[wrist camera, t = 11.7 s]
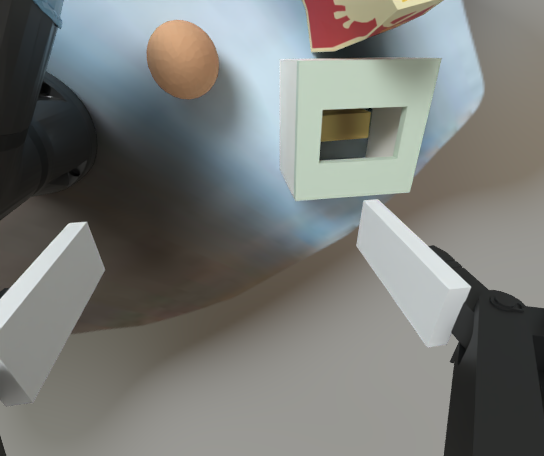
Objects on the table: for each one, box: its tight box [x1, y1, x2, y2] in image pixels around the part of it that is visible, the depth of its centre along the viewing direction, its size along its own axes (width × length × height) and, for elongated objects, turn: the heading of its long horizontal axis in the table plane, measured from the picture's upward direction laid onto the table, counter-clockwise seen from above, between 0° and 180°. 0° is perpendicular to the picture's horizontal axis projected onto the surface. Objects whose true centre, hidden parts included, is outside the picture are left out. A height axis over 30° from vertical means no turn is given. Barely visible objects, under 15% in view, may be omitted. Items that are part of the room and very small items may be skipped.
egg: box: [147, 20, 219, 99], centre depth 32 cm, size 7×7×8 cm
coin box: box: [280, 57, 442, 201], centre depth 36 cm, size 14×14×11 cm
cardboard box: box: [321, 108, 371, 142], centre depth 38 cm, size 6×3×6 cm, turn 93°
